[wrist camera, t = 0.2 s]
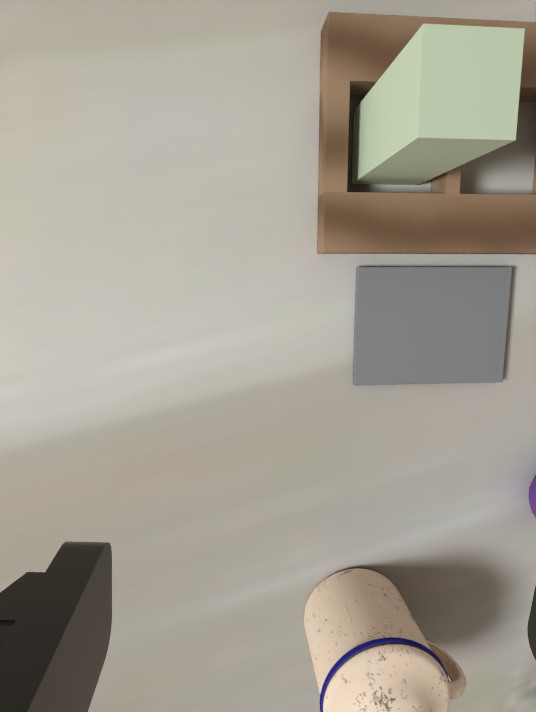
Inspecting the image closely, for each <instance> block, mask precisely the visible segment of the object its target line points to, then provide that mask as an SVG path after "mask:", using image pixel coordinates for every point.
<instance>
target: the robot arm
mask: <svg viewBox="0 0 536 712" xmlns="http://www.w3.org/2000/svg"><path fill="white" fill-rule="evenodd" d="M111 623H112V552H111V546H110V543H103V542H65V543H64V544H63V545H62V546H61V548H60V549H59V551H58V552H57V554H56V556H55V557H54V559H53V561H52V562H51V564H50V565H49V567H48V569H47V570H46V572H45V573H44V572H27V573H26V574H24V575H23V576H22V577H20V578H19V579H18V580H16V581H15V582H14V583H12V584H11V585H10V586H8V587H7V588H6V589H4V590H3V591H2V592H0V712H88V709H89V706H90V703H91V700H92V697H93V694H94V691H95V688H96V685H97V682H98V679H99V676H100V673H101V670H102V667H103V664H104V661H105V658H106V654H107V650H108V645H109V639H110V633H111ZM528 639H529V644H530V648H531V650H532V653H533V656H534V658H535V660H536V587H535V592H534V597H533V602H532V607H531V611H530V616H529V621H528Z"/></svg>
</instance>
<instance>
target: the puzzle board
mask: <svg viewBox="0 0 536 712" xmlns="http://www.w3.org/2000/svg"><path fill="white" fill-rule="evenodd" d="M423 24H442V25H463V26H484V27H504V28H525V33H524V45H523V58H522V70H521V82H520V94H519V101H536V22H518V21H498V20H478V19H458V18H438V17H418V16H397V15H377V14H357V13H337V12H329V13H328V15H327V18H326V20H325V23H324V25H323V28H322V30H321V58H320V118H319V178H318V239H317V254H536V160H535V171H534V182H533V193H532V195H507V194H460V181H461V166H462V165H460V166H458V167H456V168H454V169H452V170H450V171H447V172H445V173H443V174H441V175H439V176H437V177H434V178H432V181H431V193H374V192H347V175H348V137H349V99H350V95H360V96H366V95H367V94H368V92H369V91H370V90H371V89H372V87H373V86H374V85H375V84H376V82H377V81H378V80H379V79H380V77H381V76H382V75H383V74H384V72H385V71H386V70H387V69H388V67H389V66H390V65H391V64H392V62H393V61H394V60H395V59H396V57H397V56H398V55H399V54H400V52H401V51H402V50H403V49H404V47H405V46H406V45H407V44H408V42H409V41H410V40H411V39H412V37H413V36H414V35H415V33H416V32H417V31H418V30H419V28H420V27H421V26H422V25H423Z"/></svg>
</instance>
